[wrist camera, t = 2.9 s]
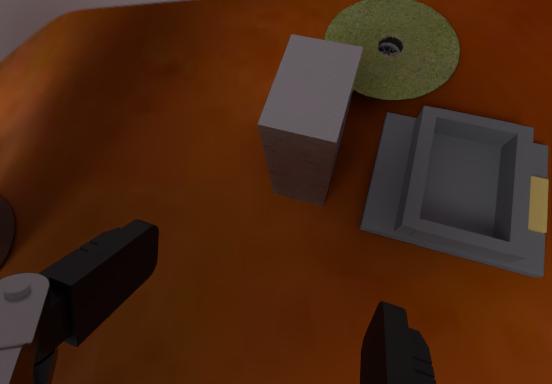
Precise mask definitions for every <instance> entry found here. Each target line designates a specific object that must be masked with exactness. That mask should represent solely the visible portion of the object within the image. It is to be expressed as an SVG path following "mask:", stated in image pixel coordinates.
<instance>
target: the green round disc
mask: <svg viewBox="0 0 552 384" xmlns="http://www.w3.org/2000/svg"><path fill="white" fill-rule="evenodd" d="M324 40H326V41H332V42H337V43H343V44H349V45H354V46H360V47H363V50H362V54H361V59H360V63H359V67H358V72H357V76H356V80H355V84H354V89H353V90H355V91H357V92H358V93H361V94H363V95H365V96H369V97H374V98H377V99H384V100H401V99H411V98H413V99H414V98H415V97H419V96H422V95H425V94H427V93H429V92H431V91H433V90H435V89H437V88H438V87H439V86H441V85H442V84H444V83H445V82H446V81H447V80H448V79H449V78H450V77H451V74H453V72H454V70H455V69H456V68H455V67H457V64H458V59H459V56H460V55H459V53H460V47H459V41H458V37H457V36H456V33H455V31H454V30H453V28H452V27H451V25H450V24H449V22H448V21H447V20H446V19H445V18H444V17H442V16H441V15H440V14H439V13H438V12H436V11H435V10H433V8H431V7H429V6H426V5H425V4H423V3H419V2H416V1H414V0H362V1H360V2H359V3H356V4H353V5H351V6H350V7H348V8H346V9H344V10H343V11H342V12H340V13H339V14H338V15H337V16H336V17H335V18H333V21H332V22H331V24H330V25H329V27H328V29H327V31H326V34H325V39H324Z"/></svg>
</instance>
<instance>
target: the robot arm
mask: <svg viewBox="0 0 552 384" xmlns="http://www.w3.org/2000/svg"><path fill="white" fill-rule="evenodd" d="M14 228H15V222H14V216H13V212H12V210H11V208H10V205H9V204H8V203H7V201H6V200H5V199H4V198H3V197H2V196H0V266H1V264H2V263H3V261H4V260H5V258H6V256H7V254H8V252H9V250H10V248H11V244H12V241H13V237H14ZM158 236H159V229H158V227H157V226H156V225H153V224H150V223H147V222H144V221H141V220H138V219H137V220H134V221H132V222H131V223H129V224H128V225H126V226H125V227H123V228H122V229H120V228H116V229H113V230H110V231H107V232H104V233H102V234H100V235H99V236H97V237H95V238H94V239H92V240H91V241H90V242H89V243H88V242H87V243H86V244H84V245H83V246H81V247H80V248H79V250H78V249H76V250H75V251H73V252H72V253H70V254H69V255H67V256H65V257H64V258H62V259H61V260H59V261H57V262H56V263H54V264H53V265H51V266H50V267H48V268H46V269H45V270H43V271H42V272H40V273H39V274H36V273H21V274H15V275H12V276H8V277H6V278H3V279H1V280H0V384H51V383H52V379H53V374H54V370H55V365H56V361H57V356H58V349H57V346H58V345H60V344H61V343H62V342H63V341H64V342H66V343H69V344H71V345H73V346H76V347H78V346H79V345H80V344H81V343H82V342H83V341H84V340H85V339H86V338H87V337H88V336H89V335H90V334H91V333H92V332H93V331H94V330H95V329H96V328H97V327H98V326H99V325H100V324H101V323H102V322H103V321H104V320H106V319H107V318H108V317H109V316H110V315H111V314H112V313H113V312H114V311H115V310H116V309H117V308H118V307H119V306H120V305H121V304H122V303H123V302H124V301H125V300H126V299H127V298H128V297H129V296H130V295H131V294H132V293H133V292H134V291H135V290H137V289H138V288H139V287H140V286H141V285H142V284H143V283H144V282H145V281H146V280H147V279H148V278H149V277H150V276H151V274H152V273H153V271H154V269H155V267H156V264H157V256H158ZM431 365H432V361H431V356H430V351H429V347H428V345H427V344H426V342H425V340H424V339H423V337H422V335H421V334H420V332H419V331H417V330H414V329H411V328H408V321H407V314H406V310H405V309H404V308H401V307H398V306H395V305H392V304H389V303H386V302H383V301H381V302H380V303H379V304H378V306H377V309H376V311H375V313H374V315H373V318H372V320H371V322H370V325H369V327H368V329H367V331H366V334H365V336H364V340H363V344H362V349H361V368H360V384H436V380H434V377H435V376H434V371H433V366H431Z"/></svg>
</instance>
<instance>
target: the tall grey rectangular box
mask: <svg viewBox="0 0 552 384" xmlns="http://www.w3.org/2000/svg"><path fill="white" fill-rule="evenodd" d="M362 50H363V47H360V46H354V45H349V44H343V43H337V42H332V41H326V40H321V39H315V38H309V37H304V36H298V35H293V34H292V35H291V37H290V40H289V43H288V45H287V48H286V51H285V53H284V56H283V59H282V61H281V64H280V66H279V69H278V72H277V74H276V77H275V80H274V82H273V85H272V88H271V90H270V93H269V96H268V98H267V101H266V104H265V106H264V109H263V112H262V114H261V117H260V120H259V122H258V128H259V132H260V136H261V141H262V145H263V149H264V154H265V158H266V162H267V166H268V171H269V175H270V179H271V184H272V188H273V192H274V193H275V194H278V195H282V196H286V197H290V198H293V199H297V200H301V201H304V202H308V203H312V204H316V205H319V206H323V205H324V202H325V198H326V194H327V191H328V187H329V183H330V180H331V176H332V173H333V169H334V165H335V162H336V158H337V154H338V151H339V147H340V143H341V140H342V135H343V131H344V127H345V123H346V118H347V114H348V110H349V106H350V101H351V97H352V93H353V89H354V84H355V80H356V76H357V72H358V67H359V63H360V59H361V54H362Z"/></svg>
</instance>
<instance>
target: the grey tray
mask: <svg viewBox="0 0 552 384" xmlns="http://www.w3.org/2000/svg"><path fill="white" fill-rule="evenodd" d="M533 133H534V128H531V127H526V126H522V125H518V124H515V123H510V122H505V121H500V120H495V119H490V118H485V117H480V116H475V115H470V114H466V113H461V112H456V111H451V110H446V109H441V108H433V107H428V106H424V107H423V108H422V110H421V112H420V113H419V115H418V117H417V118H413V117H409V116H404V115H399V114H394V113H390V112H387V114H386V117H385V120H384V124H383V129H382V133H381V137H380V142H379V146H378V150H377V155H376V159H375V163H374V168H373V172H372V176H371V181H370V185H369V189H368V194H367V198H366V202H365V207H364V211H363V215H362V220H361V224H360V228H359V229H360V230H364V231H367V232H371V233H374V234H378V235H382V236H385V237H389V238H393V239H396V240H400V241H403V242H407V243H411V244H414V245H418V246H422V247H425V248H429V249H432V250H436V251H440V252H443V253H447V254H450V255H454V256H458V257H461V258H465V259H469V260H472V261H476V262H479V263H483V264H487V265H490V266H494V267H498V268H501V269H505V270H508V271H512V272H516V273H519V274H523V275H527V276H530V277H534V278H538V277H543V276H544V250H545V233H546V232H547V209H548V181H549V180H548V179H547V171H548V146H546V145H541V144H537V143H533Z"/></svg>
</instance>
